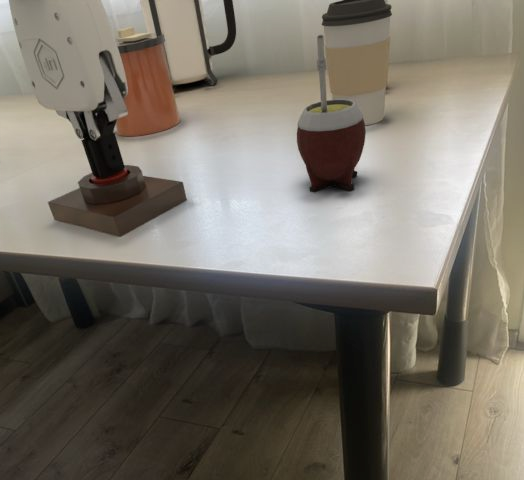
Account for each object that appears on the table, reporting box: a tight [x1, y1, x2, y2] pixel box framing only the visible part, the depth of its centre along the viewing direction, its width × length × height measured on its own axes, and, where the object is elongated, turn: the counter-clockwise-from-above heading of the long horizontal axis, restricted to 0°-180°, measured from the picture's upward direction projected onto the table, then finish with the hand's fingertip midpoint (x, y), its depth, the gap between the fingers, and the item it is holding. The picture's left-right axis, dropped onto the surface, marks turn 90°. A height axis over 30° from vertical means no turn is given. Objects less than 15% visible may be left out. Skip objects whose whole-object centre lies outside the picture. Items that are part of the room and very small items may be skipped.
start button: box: [91, 168, 128, 184], centre depth 59 cm, size 4×4×2 cm
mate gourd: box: [296, 34, 367, 193], centre depth 53 cm, size 8×8×15 cm
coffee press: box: [139, 0, 237, 93], centre depth 108 cm, size 17×16×30 cm
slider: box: [116, 26, 152, 42], centre depth 82 cm, size 4×4×2 cm
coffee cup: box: [321, 0, 393, 127], centre depth 72 cm, size 9×9×15 cm
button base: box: [47, 164, 188, 238], centre depth 60 cm, size 12×10×4 cm
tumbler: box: [115, 33, 181, 137], centre depth 88 cm, size 12×12×13 cm
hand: (109, 173), depth 58 cm, fingers closed
